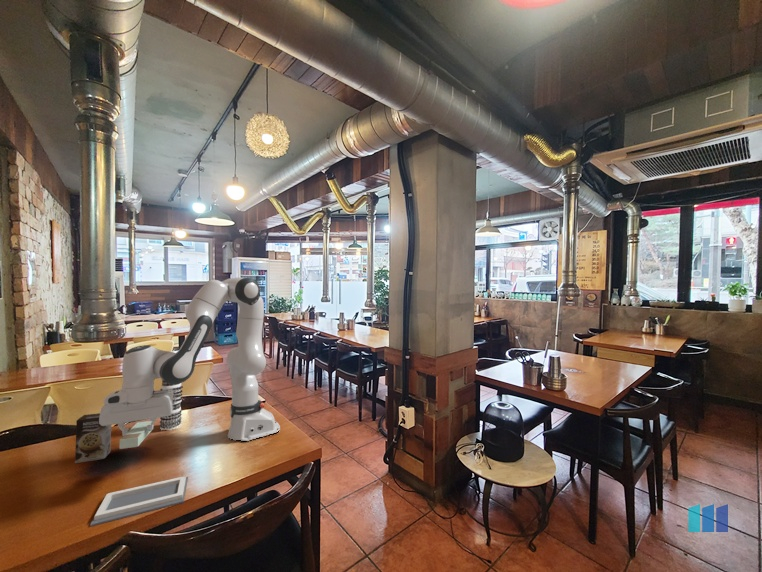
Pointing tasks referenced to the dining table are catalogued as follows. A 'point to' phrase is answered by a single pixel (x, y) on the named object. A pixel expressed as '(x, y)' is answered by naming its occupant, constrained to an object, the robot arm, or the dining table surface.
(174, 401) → the decorative candle
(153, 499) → the picture frame
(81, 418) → the coffee box
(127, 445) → the pale green rectangular block
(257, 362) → the robot arm
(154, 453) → the dining table surface
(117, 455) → the dining table surface
